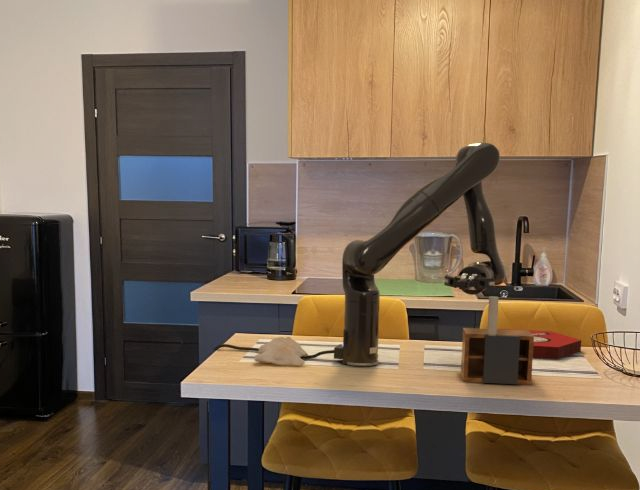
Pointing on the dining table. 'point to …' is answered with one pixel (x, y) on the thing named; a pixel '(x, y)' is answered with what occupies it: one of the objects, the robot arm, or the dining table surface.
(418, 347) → the dining table surface
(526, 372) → the cupboard
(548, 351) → the plaque
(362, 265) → the robot arm
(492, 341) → the sliding door
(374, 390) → the dining table surface
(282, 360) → the arrowhead
